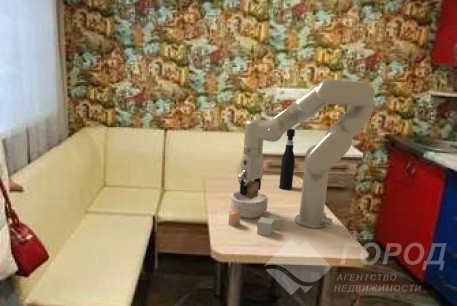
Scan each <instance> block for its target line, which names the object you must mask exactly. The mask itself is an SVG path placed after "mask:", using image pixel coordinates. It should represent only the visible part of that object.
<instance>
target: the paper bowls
mask: <svg viewBox="0 0 457 306" xmlns="http://www.w3.org/2000/svg"><path fill="white" fill-rule="evenodd" d="M268 199H269V198H268V196H267V195H266V194H265V193H262V192H260V191H258V196H257V197H254V198H252V199H250V198H246V197H243V196H241V194H240V190H238V191H235V192H232V193H231V195H230V204H229V205H230V208H231V210H237V211H240V212H241V216H240V218H246V219H254V218H258V217H261V215H262V213H264V212H266V211H267V210H268V201H269V200H268Z"/></svg>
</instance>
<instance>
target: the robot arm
mask: <svg viewBox="0 0 457 306" xmlns="http://www.w3.org/2000/svg"><path fill="white" fill-rule="evenodd" d="M375 96H376V92H375V89H374V86H373V85H372V84H370V83H369V82H367V81H364V80H358V81H357V80H356V81H347V80H338V79H335V78H330V77H329V78H325V79H323V80H321V81H319V83H317V84H316V85H315V86H313V87H312V88H310V89H309V90H308V91H306V93H305V92H304V94H302V95H301V96H300V97H299V98H298V99H296V100H294V101H293V102H292V103H291V104H290V105H289V106H288V107H286V108H285V109H284V110H283V111H281V112H280V113H279V114H277V115H276V116H275V117H273V118H272V119H271V120H270V121H268V122H264V121H262V120H258V119H248V120H246V122H245V123H244V124H245V126H244V140H243V152H242V153H243V156H242V161H241V168H240V173H239V174H238V175H237V179H238V183H239V191H240V194H242V195H247V183H248V181H252V180H253V181H256V182H259V188H258V191H260V190H261V188H262V187H261V185H262V180H263V176H264V172H265V168H264V154H263V148H264V141H267V142H271V143H273V142H274V143H275V142H278V141H280V140H281V138H282V137H283V134H285V133H287V131H288V130H289V129H293V127H294V126H296V125H297V124H299V123H301V122H303V121H304V122H305V121H307V120H309V119H310V118H312V117H313V116H314V115H316V114H317V113H318V112H320V111H322V109H324V108H325V107H326V106H329V104H331V105H338V106H339V105H340V106H349V107H348V108H347V109H346V111H345V112H344V113H343V114H342V116H340V118H339V119H338V120H337V121H335V123H334V124H333V125H332V126H330V127H329V129H327V130H326V132H325V134H324V138H323V139H322V140H320V142H319V143H318V144H314V145H312V146H310V147H309V148H308V149H307V150H306V151H305V155H304V165H303V166H304V167H303V176H302V184H301V185H302V186H301V192H300V193H301V196H300V205H299V213H298V215H295V217H294V222H296V224H297V225H299V226H302V227H306V228H311V229H321V228H324V227H326V226H327V225H329V226H332V225H333V223H334V222H333V218H331V217H327V212H325V207H326V197H327V188H328V182H329V172H330V170H331V169H332V168H333V167H334V166H335V165H336V164H338V162H339V161H340V160H341V159H342V158H343V157H344V156H345V155H346V154H347V153H348V152H349V150H350V149H351V146H352V143H353V139H354V137H355V136H357V134H358V133H359V132H360V131H361V130H362V128H363V127H365V126H366V124H367V123H368V122H369V120H370V119H371V118H372V117H371V116H372V115H373V111H374V105H375ZM244 181H245V182H244Z"/></svg>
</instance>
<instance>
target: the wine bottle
mask: <svg viewBox="0 0 457 306" xmlns="http://www.w3.org/2000/svg"><path fill="white" fill-rule="evenodd" d="M295 133H296V129H294V128H290V129H289V130H288V131H286V137H287V140H286V144H285V149H284V152H283V154H282V158H281V162H280V163H281V166H280V174H279V186H278V188H279V189H280V190H283V191H291V190H292V189H293V182H294V181H293V180H294V170H295V163H296V162H295V154H294V141H293V140H294V137H295V136H296V134H295Z"/></svg>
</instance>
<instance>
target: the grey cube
mask: <svg viewBox="0 0 457 306" xmlns="http://www.w3.org/2000/svg"><path fill="white" fill-rule="evenodd" d="M274 230H275V229H274V219H270V218H269V217H263V216H260V218H259V219H258V221H257V229H256V231H257V232H256V235H260V236H264V237H271V236H272V235H273V233H274Z"/></svg>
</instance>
